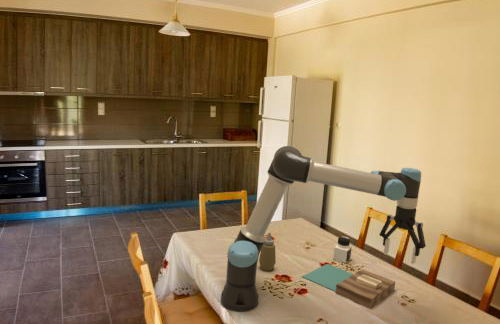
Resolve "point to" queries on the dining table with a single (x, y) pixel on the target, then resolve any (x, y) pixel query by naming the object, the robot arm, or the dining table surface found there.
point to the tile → (369, 281)
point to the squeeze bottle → (268, 254)
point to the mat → (328, 276)
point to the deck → (364, 289)
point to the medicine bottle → (342, 250)
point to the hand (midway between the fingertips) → (399, 258)
